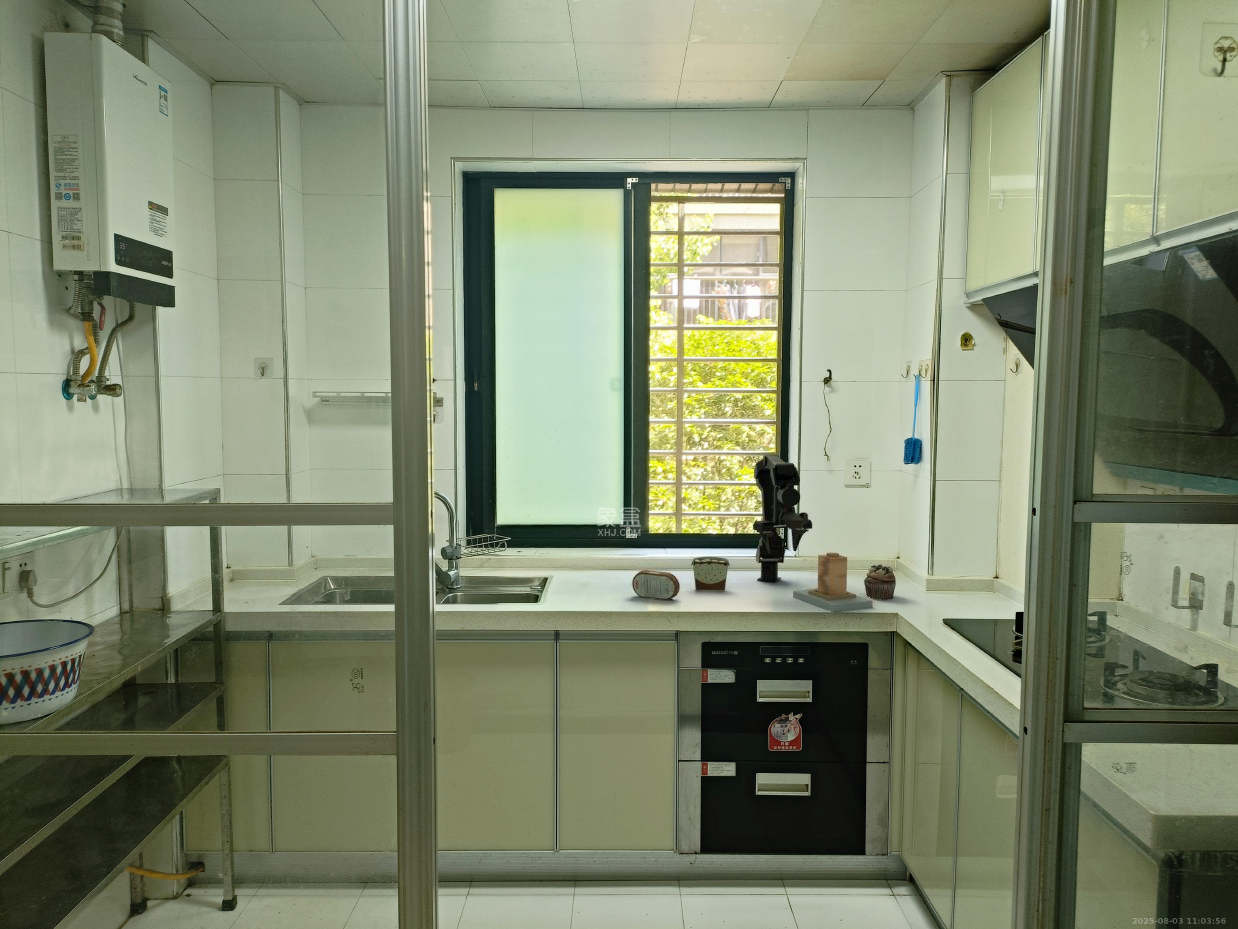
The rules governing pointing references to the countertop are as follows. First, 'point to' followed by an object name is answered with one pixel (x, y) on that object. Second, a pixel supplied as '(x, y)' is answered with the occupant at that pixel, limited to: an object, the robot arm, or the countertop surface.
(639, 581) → the tin
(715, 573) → the food container
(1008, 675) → the countertop surface
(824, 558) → the terracotta block
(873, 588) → the cupcake
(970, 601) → the countertop surface
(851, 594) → the base slab
